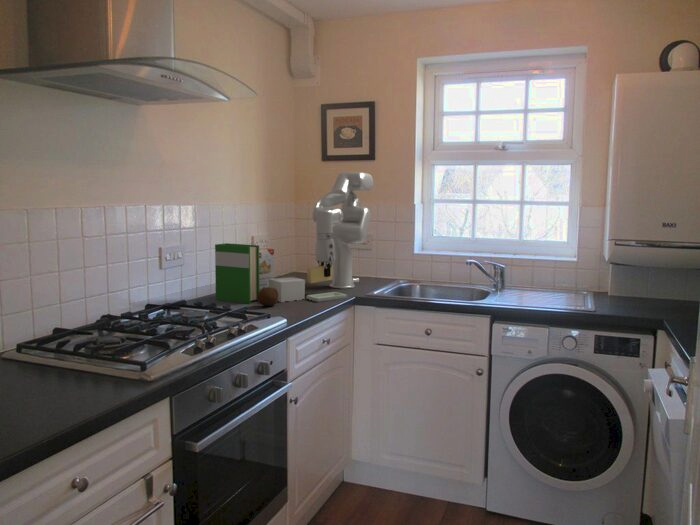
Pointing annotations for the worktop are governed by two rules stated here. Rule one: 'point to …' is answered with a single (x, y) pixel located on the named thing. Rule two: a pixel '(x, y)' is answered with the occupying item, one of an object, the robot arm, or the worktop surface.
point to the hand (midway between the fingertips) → (325, 275)
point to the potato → (268, 296)
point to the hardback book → (237, 272)
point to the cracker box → (265, 267)
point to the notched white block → (288, 288)
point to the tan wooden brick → (317, 274)
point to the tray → (327, 297)
